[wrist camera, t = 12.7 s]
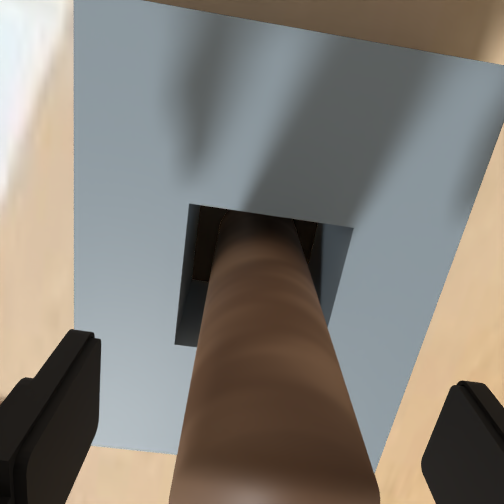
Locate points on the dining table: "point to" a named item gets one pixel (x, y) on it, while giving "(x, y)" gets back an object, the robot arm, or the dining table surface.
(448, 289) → the dining table surface
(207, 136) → the hole block
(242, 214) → the long walnut pin
